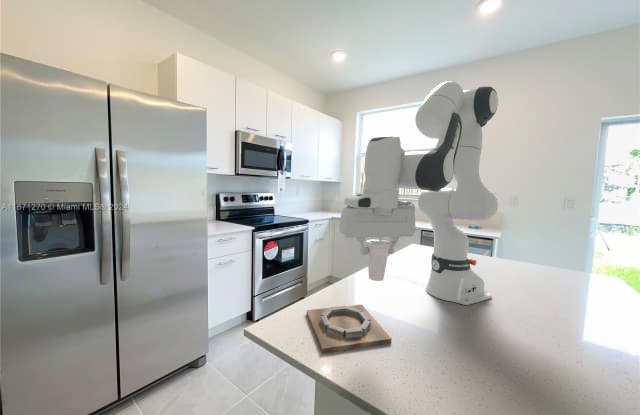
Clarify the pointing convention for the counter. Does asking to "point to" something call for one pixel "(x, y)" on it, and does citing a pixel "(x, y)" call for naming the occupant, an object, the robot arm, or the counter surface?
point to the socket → (346, 328)
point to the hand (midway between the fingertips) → (376, 253)
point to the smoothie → (377, 258)
